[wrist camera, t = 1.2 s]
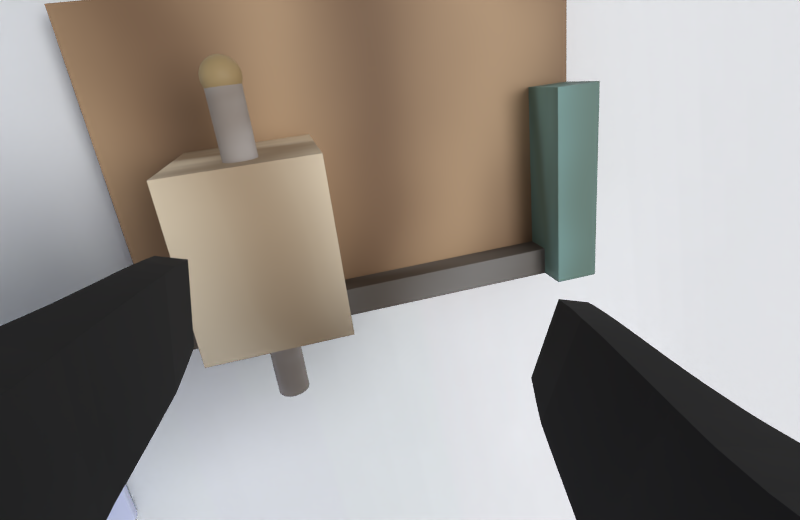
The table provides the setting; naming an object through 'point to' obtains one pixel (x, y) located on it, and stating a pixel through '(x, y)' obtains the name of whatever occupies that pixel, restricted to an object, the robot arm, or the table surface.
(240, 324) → the beige block with rod
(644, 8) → the table surface
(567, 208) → the board
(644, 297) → the table surface
